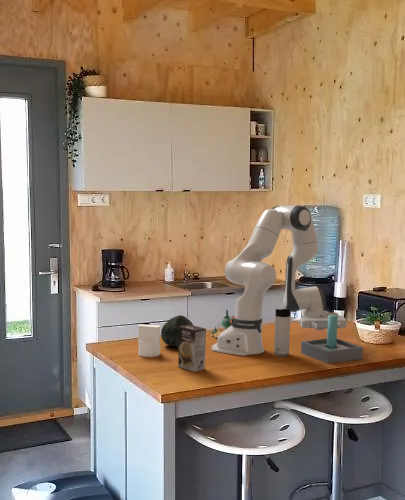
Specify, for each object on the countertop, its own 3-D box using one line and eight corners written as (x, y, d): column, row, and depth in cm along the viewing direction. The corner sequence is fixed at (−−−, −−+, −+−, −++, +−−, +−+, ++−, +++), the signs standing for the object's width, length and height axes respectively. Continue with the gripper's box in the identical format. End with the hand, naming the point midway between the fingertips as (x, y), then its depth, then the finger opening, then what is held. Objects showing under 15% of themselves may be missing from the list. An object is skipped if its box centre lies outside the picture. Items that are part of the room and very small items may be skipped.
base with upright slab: (162, 352, 268) (163, 324, 267) (155, 357, 260) (155, 328, 258) (143, 350, 271) (143, 322, 270) (135, 355, 262) (135, 327, 261)
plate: (328, 358, 260) (329, 351, 260) (311, 351, 271) (311, 344, 270) (351, 355, 266) (352, 348, 265) (333, 348, 276) (333, 342, 276)
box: (327, 363, 256) (328, 351, 256) (300, 352, 272) (301, 341, 272) (362, 358, 265) (362, 347, 264) (334, 348, 280) (334, 337, 280)
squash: (171, 327, 290) (164, 307, 280) (202, 332, 286) (196, 311, 275) (161, 353, 281) (153, 333, 271) (193, 358, 277) (186, 338, 266)
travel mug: (277, 357, 265) (279, 309, 263) (271, 353, 271) (273, 306, 269) (291, 356, 266) (293, 309, 264) (285, 352, 273) (287, 306, 271)
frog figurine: (222, 333, 306) (225, 303, 303) (244, 345, 291) (248, 314, 288) (205, 335, 300) (208, 305, 298) (227, 348, 286) (231, 316, 283)
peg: (325, 354, 267) (327, 316, 265) (327, 351, 271) (328, 314, 269) (335, 355, 266) (337, 317, 264) (336, 352, 270) (338, 315, 268)
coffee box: (177, 367, 247) (178, 326, 245) (189, 364, 251) (190, 323, 250) (193, 372, 240) (194, 330, 239) (205, 369, 245) (206, 328, 243)
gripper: (296, 312, 284) (305, 319, 270) (340, 312, 287) (351, 319, 273) (296, 326, 285) (304, 334, 271) (340, 326, 287) (351, 333, 273)
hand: (328, 326), depth 272 cm, fingers open, 8 cm apart
